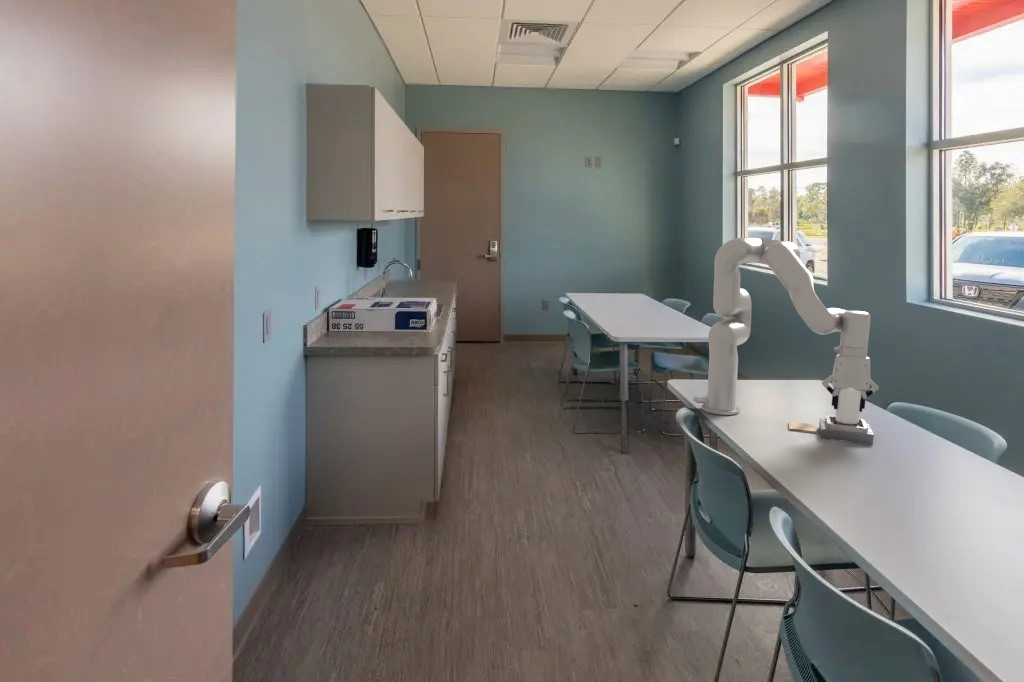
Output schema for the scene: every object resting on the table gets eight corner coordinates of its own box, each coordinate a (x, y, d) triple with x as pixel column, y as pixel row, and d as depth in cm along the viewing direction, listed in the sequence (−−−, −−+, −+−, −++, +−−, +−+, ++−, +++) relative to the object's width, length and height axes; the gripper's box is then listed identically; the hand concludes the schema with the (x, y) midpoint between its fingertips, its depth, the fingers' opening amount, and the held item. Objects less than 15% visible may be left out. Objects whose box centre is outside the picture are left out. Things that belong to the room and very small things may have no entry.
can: (853, 419, 207) (857, 381, 205) (862, 425, 200) (866, 386, 198) (832, 418, 207) (835, 381, 205) (840, 424, 201) (843, 386, 199)
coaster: (788, 430, 210) (789, 428, 210) (788, 423, 217) (788, 421, 217) (816, 433, 207) (816, 431, 207) (815, 426, 214) (815, 424, 214)
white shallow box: (821, 438, 202) (822, 424, 201) (818, 427, 213) (820, 414, 212) (872, 444, 197) (874, 429, 196) (868, 432, 208) (869, 419, 207)
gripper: (822, 351, 200) (817, 409, 203) (887, 356, 194) (881, 415, 197) (821, 347, 207) (816, 403, 210) (883, 351, 201) (877, 409, 204)
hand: (847, 408), depth 203 cm, fingers closed on can, 6 cm apart
